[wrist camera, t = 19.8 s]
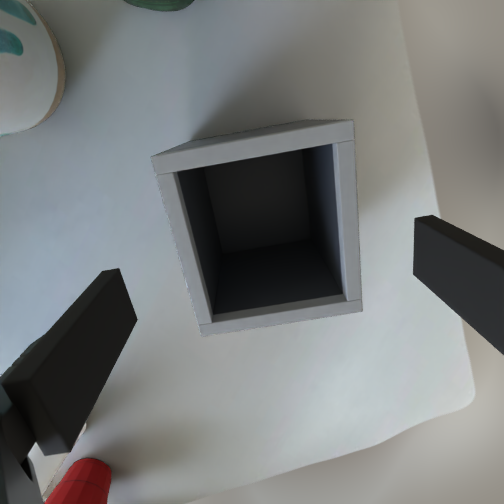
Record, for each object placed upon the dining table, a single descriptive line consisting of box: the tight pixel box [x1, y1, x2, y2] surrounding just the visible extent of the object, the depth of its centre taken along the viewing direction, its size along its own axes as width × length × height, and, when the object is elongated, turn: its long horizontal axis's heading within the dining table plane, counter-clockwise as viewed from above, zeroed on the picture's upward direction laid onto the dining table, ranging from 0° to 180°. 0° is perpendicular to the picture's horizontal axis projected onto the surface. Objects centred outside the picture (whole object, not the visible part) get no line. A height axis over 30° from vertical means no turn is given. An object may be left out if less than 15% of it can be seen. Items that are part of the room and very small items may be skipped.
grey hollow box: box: [151, 120, 363, 337], centre depth 25 cm, size 13×11×12 cm
